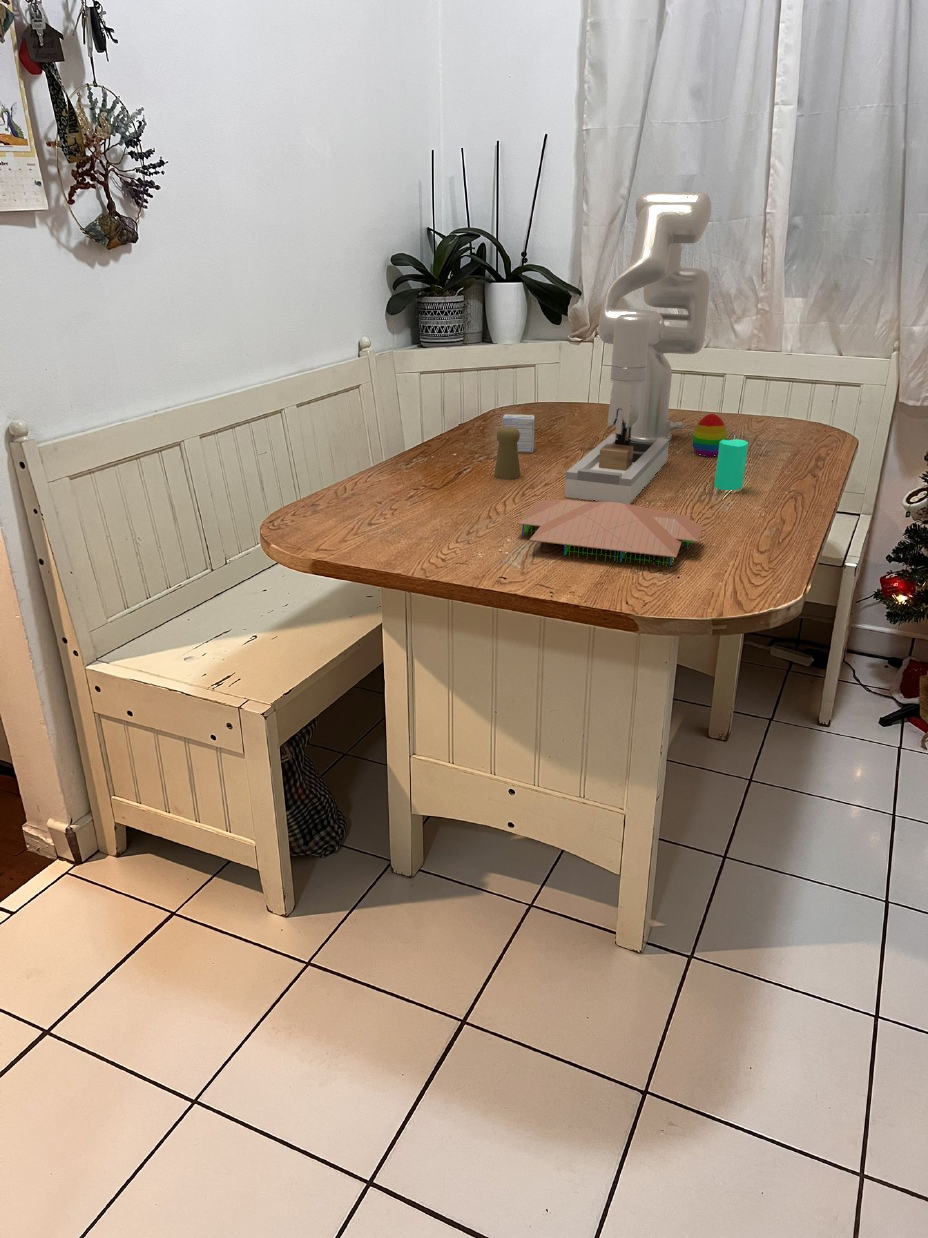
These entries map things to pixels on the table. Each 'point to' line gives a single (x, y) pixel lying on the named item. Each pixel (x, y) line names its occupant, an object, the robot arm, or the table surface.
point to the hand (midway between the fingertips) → (621, 456)
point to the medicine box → (522, 430)
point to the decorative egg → (709, 435)
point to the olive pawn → (507, 454)
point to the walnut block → (616, 457)
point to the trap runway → (615, 473)
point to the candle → (731, 464)
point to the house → (610, 527)
